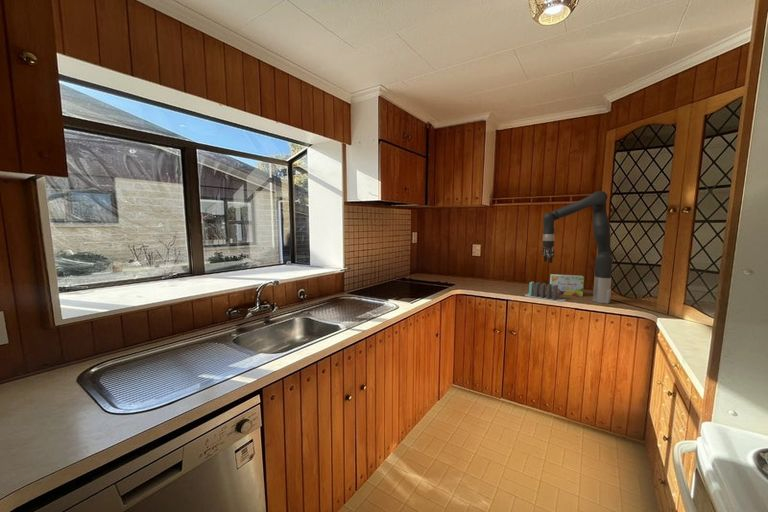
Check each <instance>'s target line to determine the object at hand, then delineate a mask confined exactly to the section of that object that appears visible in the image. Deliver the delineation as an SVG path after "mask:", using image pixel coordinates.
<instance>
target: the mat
mask: <svg viewBox="0 0 768 512" xmlns="http://www.w3.org/2000/svg"><path fill="white" fill-rule="evenodd" d="M524 295H525V296H524V297H529V298H534V299H541V300H547V301H553V302H557V303H564V302H565V301H567V299H566V298H559V297H557V299H556V300H552V298H553V296H551V298H550V299H546V295H545V297H544V298H540V294H539V296H538V297H535V293H534V295H533V296H529V292H528V293H526V294H524Z"/></svg>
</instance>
